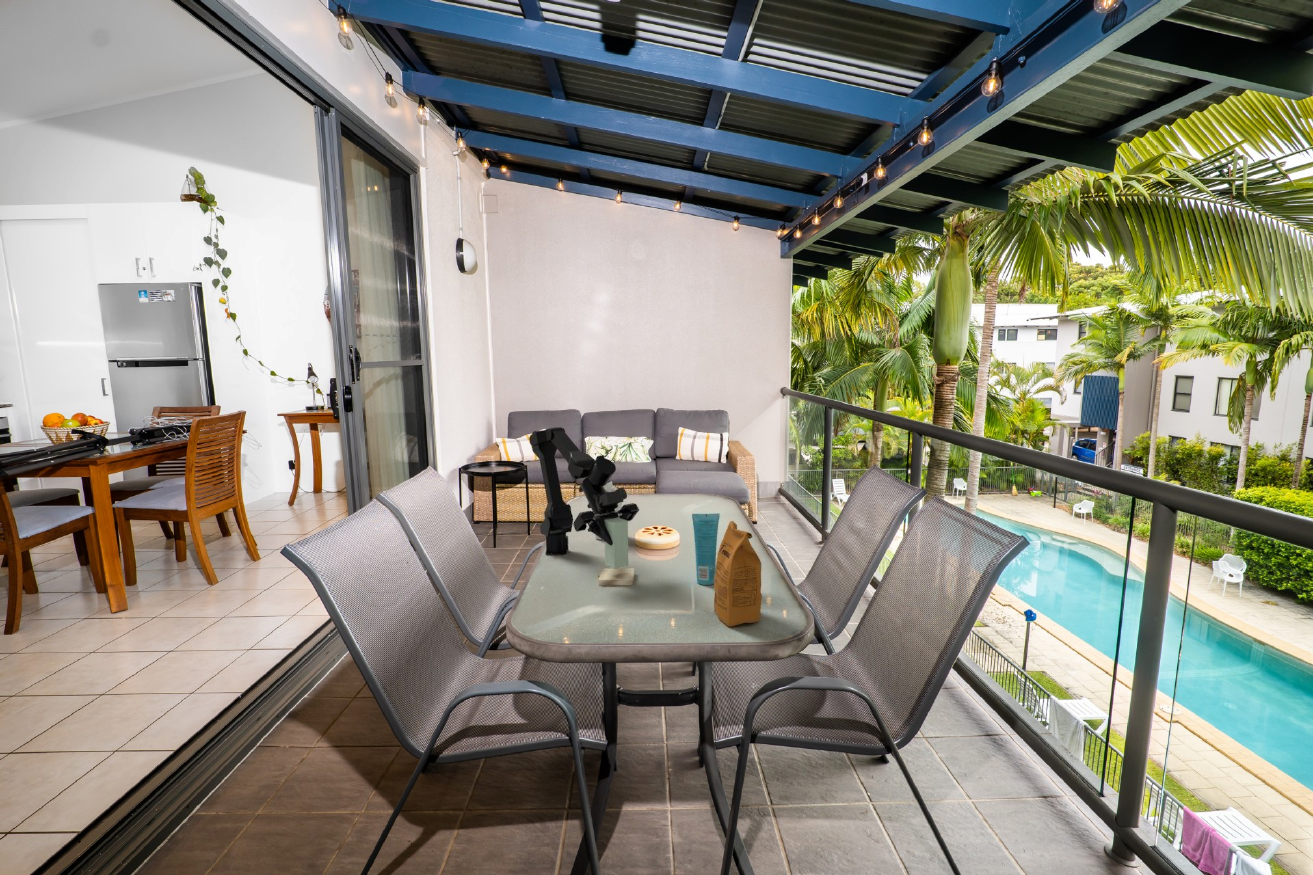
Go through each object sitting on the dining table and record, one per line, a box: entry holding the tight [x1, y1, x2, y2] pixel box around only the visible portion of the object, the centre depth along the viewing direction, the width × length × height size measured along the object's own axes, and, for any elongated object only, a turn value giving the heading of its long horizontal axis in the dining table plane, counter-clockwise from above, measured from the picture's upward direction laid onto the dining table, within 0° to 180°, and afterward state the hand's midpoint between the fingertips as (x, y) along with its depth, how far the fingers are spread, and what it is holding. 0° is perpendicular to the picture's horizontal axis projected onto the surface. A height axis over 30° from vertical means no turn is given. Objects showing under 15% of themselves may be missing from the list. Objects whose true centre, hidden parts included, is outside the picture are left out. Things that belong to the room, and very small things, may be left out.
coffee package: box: [713, 520, 763, 627], centre depth 141 cm, size 10×12×22 cm
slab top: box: [598, 567, 636, 586], centre depth 165 cm, size 9×9×2 cm
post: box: [604, 518, 629, 569], centre depth 164 cm, size 4×4×12 cm
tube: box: [691, 512, 720, 586], centre depth 164 cm, size 7×5×19 cm, turn 100°
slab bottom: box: [597, 574, 638, 588], centre depth 165 cm, size 9×9×2 cm
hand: (619, 542), depth 163 cm, fingers closed on post, 4 cm apart
